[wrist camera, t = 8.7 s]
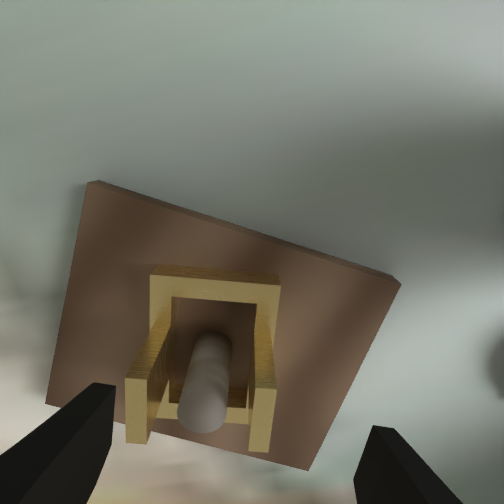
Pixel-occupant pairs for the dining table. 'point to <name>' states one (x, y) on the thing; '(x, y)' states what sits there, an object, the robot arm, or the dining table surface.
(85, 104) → the dining table surface
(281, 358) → the post board
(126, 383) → the collar
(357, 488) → the robot arm
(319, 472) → the dining table surface
